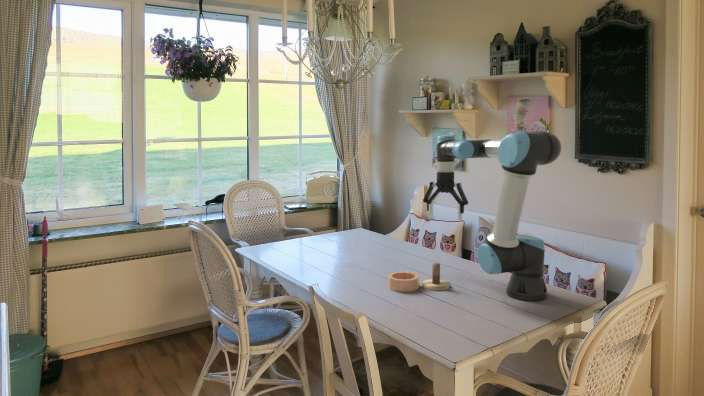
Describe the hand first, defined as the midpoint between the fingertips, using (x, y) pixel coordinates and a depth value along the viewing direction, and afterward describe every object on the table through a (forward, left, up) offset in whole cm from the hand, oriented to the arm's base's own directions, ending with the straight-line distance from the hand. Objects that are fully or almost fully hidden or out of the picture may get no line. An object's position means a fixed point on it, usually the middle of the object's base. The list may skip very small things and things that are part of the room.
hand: (445, 219), depth 231 cm
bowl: (-18, +24, -24) cm, 38 cm away
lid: (-20, +11, -23) cm, 32 cm away
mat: (-20, +11, -24) cm, 33 cm away
